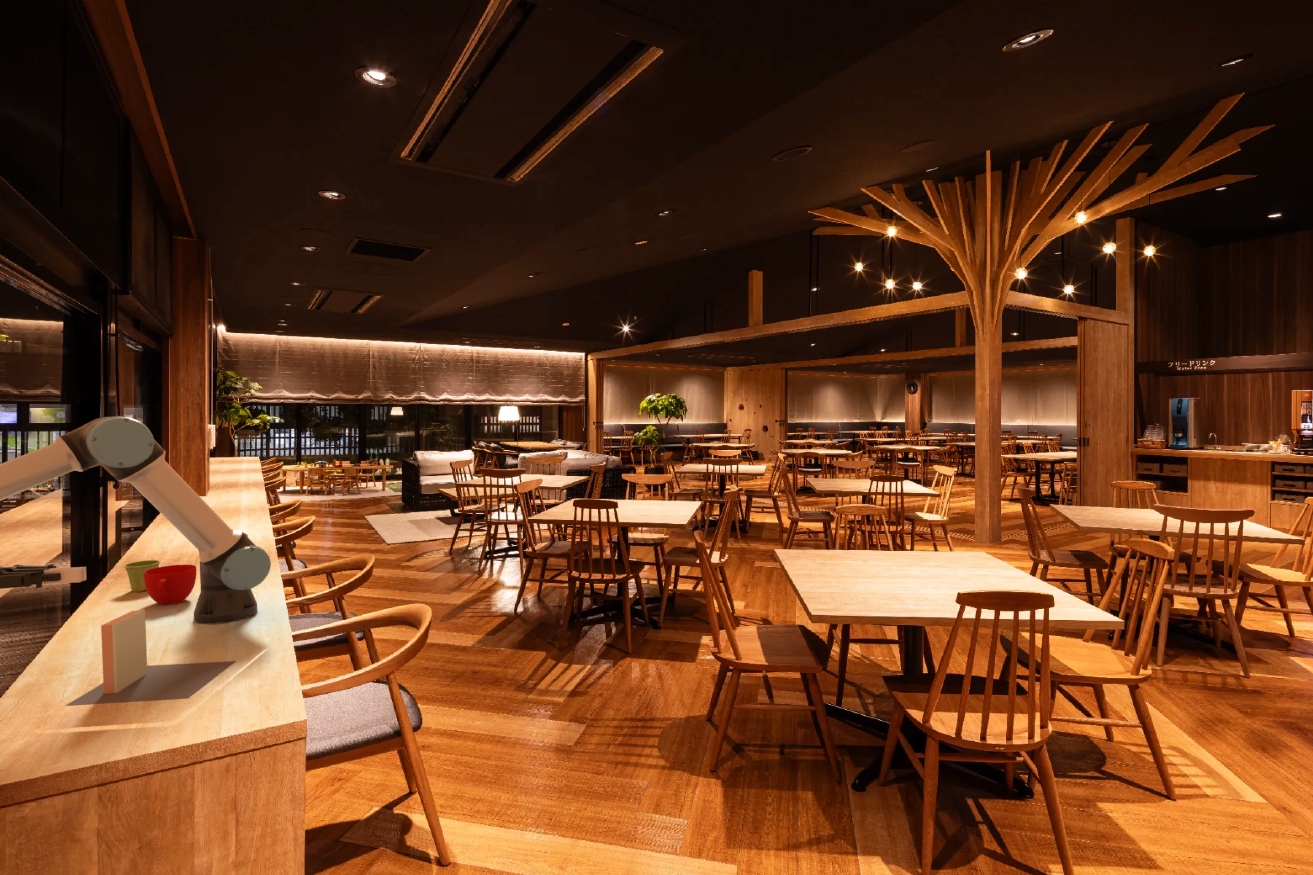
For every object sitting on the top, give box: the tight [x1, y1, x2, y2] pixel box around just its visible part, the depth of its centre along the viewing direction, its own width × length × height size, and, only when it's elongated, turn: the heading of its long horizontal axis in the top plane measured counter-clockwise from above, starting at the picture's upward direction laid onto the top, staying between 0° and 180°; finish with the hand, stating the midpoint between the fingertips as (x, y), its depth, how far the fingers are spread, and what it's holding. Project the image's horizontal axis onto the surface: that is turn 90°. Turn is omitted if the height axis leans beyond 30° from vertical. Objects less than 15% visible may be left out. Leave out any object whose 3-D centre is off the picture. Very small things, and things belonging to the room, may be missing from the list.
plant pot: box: [123, 559, 161, 593], centre depth 217 cm, size 9×9×9 cm
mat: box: [65, 660, 237, 707], centre depth 142 cm, size 22×20×1 cm
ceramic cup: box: [144, 564, 197, 606], centre depth 201 cm, size 13×17×10 cm
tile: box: [100, 610, 148, 694], centre depth 141 cm, size 2×10×14 cm, turn 8°
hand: (82, 574), depth 139 cm, fingers closed
